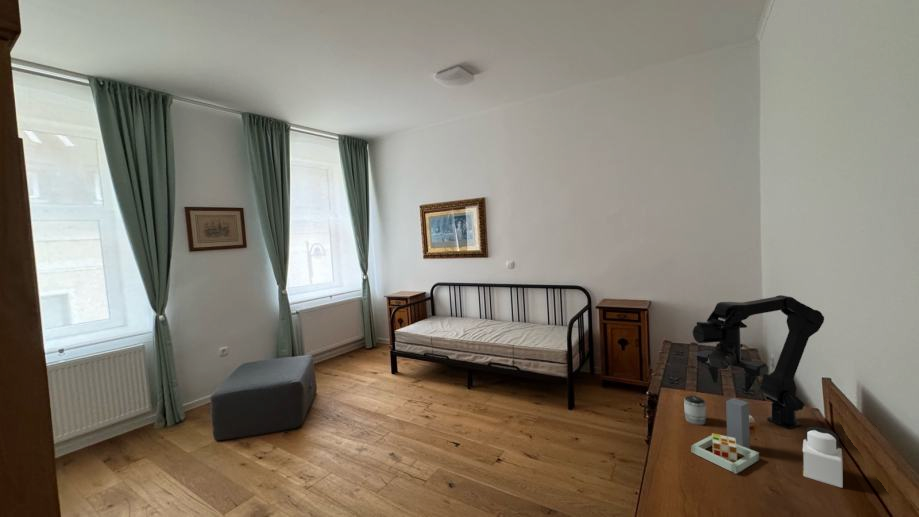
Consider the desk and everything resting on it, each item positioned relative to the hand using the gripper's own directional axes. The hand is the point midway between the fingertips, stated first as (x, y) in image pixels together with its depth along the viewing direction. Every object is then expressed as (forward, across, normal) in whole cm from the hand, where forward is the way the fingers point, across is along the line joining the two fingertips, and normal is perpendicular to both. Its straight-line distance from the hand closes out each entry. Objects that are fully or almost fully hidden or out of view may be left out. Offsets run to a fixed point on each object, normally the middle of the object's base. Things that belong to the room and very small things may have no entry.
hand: (730, 387), depth 119 cm
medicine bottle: (+13, +25, -8) cm, 29 cm away
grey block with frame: (+13, +8, -18) cm, 23 cm away
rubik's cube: (+13, +8, -20) cm, 26 cm away
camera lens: (+13, -8, -6) cm, 17 cm away
